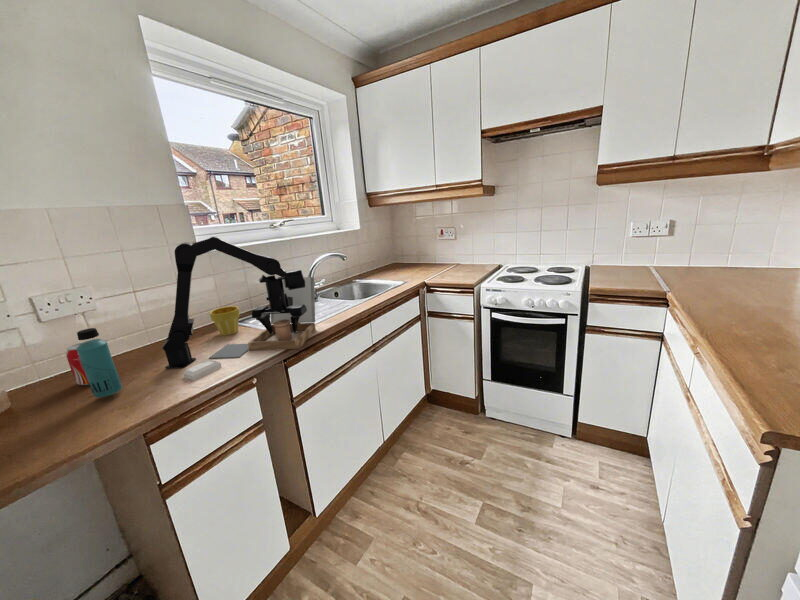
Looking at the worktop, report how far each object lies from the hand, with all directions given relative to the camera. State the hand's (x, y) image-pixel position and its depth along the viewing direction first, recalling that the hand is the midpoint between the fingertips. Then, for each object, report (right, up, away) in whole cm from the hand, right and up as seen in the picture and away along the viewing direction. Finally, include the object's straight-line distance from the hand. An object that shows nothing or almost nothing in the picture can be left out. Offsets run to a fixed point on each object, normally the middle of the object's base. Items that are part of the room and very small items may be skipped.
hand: (283, 333), depth 125 cm
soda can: (-52, -13, -21) cm, 57 cm away
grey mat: (-15, -6, -6) cm, 18 cm away
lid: (0, +12, +9) cm, 15 cm away
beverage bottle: (-38, -15, -31) cm, 51 cm away
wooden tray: (0, -2, +1) cm, 3 cm away
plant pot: (-27, -1, +13) cm, 30 cm away
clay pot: (0, -3, +1) cm, 3 cm away
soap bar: (-18, -11, -20) cm, 29 cm away
